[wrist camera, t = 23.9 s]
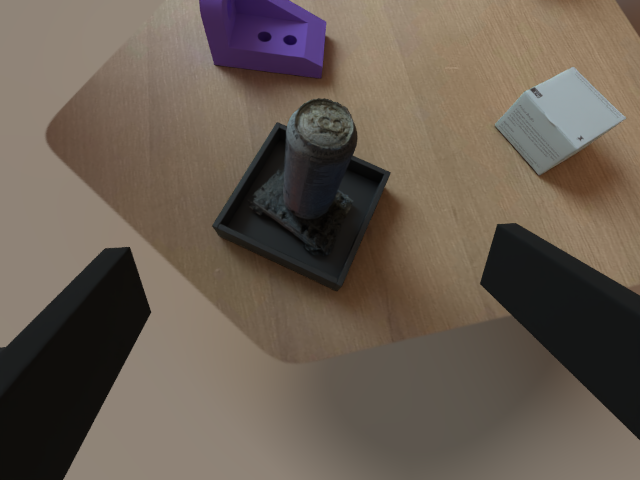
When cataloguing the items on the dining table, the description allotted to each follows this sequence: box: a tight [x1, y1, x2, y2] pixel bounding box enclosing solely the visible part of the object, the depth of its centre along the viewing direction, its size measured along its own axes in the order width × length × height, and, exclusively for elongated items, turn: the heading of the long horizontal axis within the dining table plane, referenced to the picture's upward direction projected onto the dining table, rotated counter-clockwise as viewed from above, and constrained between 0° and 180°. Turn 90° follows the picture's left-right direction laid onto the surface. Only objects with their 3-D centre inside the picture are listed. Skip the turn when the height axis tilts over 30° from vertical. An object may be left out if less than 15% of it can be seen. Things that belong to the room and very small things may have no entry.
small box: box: [495, 67, 626, 175], centre depth 33 cm, size 8×8×5 cm
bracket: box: [199, 0, 326, 78], centre depth 32 cm, size 12×7×7 cm, turn 86°
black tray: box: [212, 122, 391, 291], centre depth 29 cm, size 12×12×3 cm
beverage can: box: [248, 98, 357, 257], centre depth 23 cm, size 9×8×12 cm
